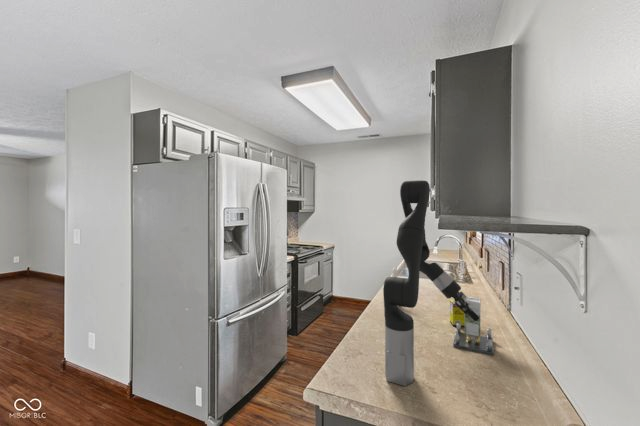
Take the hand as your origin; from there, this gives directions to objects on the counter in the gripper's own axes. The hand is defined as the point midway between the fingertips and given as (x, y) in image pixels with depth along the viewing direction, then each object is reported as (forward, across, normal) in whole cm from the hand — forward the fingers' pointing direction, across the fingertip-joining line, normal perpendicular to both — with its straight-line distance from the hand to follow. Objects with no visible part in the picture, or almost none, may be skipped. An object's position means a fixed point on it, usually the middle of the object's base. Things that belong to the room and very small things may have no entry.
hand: (477, 316), depth 116 cm
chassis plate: (+7, 0, +9) cm, 12 cm away
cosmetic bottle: (-22, +32, +38) cm, 55 cm away
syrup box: (+4, 0, +7) cm, 8 cm away
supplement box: (+2, +19, +14) cm, 24 cm away
